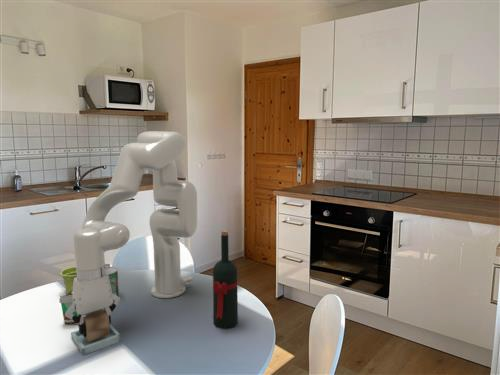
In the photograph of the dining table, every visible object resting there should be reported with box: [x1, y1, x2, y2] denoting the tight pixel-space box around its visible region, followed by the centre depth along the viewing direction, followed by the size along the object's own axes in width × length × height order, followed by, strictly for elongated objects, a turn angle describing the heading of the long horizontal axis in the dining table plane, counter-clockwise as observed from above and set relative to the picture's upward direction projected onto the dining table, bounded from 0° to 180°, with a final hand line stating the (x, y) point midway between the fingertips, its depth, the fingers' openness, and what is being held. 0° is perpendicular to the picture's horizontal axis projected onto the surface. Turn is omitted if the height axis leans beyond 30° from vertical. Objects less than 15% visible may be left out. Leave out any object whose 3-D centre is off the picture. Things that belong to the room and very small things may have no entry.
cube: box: [84, 309, 110, 342], centre depth 111 cm, size 6×6×6 cm
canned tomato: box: [106, 266, 120, 300], centre depth 136 cm, size 8×8×11 cm
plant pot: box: [60, 266, 77, 295], centre depth 142 cm, size 9×9×9 cm
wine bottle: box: [212, 229, 239, 330], centre depth 118 cm, size 8×10×30 cm
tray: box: [70, 323, 122, 356], centre depth 111 cm, size 11×11×2 cm
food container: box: [58, 290, 78, 325], centre depth 123 cm, size 12×6×10 cm, turn 168°
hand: (95, 330), depth 111 cm, fingers closed on cube, 5 cm apart
